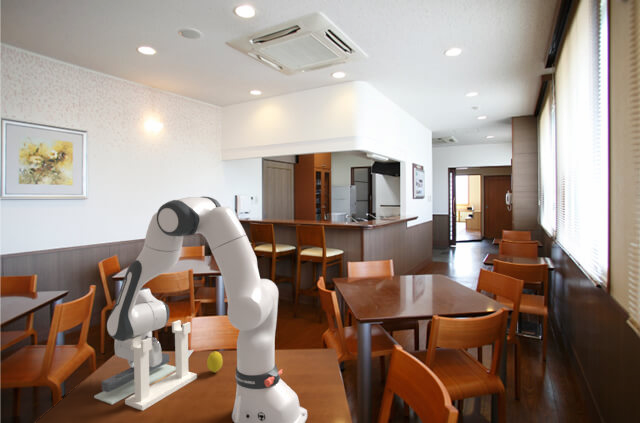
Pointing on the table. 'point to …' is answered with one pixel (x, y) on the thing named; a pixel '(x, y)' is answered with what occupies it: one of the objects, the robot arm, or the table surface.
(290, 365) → the table surface
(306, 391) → the table surface
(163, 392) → the rack
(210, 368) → the lemon
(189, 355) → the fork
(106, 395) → the mat
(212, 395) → the table surface
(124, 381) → the rail
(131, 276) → the robot arm
